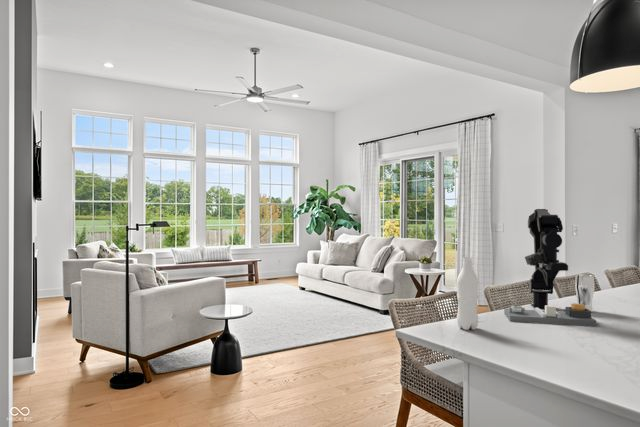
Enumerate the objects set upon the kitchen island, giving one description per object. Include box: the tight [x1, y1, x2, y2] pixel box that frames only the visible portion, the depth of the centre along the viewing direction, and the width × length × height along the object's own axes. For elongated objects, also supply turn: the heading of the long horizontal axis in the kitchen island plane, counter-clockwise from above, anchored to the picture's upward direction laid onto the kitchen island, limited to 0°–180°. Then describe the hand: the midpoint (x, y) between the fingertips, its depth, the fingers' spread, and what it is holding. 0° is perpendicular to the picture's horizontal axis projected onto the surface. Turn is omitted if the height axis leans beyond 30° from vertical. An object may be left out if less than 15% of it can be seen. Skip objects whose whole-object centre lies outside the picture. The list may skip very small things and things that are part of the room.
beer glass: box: [574, 273, 596, 313], centre depth 182 cm, size 7×7×15 cm
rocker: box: [510, 305, 523, 309], centre depth 170 cm, size 5×3×1 cm, turn 166°
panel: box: [503, 306, 597, 327], centre depth 167 cm, size 13×29×4 cm, turn 76°
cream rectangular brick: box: [544, 304, 557, 317], centre depth 163 cm, size 2×3×4 cm
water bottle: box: [456, 257, 479, 331], centre depth 154 cm, size 7×7×25 cm
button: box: [570, 302, 585, 311], centre depth 164 cm, size 4×4×2 cm
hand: (548, 286), depth 171 cm, fingers closed
